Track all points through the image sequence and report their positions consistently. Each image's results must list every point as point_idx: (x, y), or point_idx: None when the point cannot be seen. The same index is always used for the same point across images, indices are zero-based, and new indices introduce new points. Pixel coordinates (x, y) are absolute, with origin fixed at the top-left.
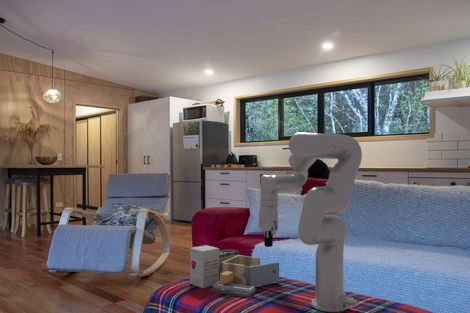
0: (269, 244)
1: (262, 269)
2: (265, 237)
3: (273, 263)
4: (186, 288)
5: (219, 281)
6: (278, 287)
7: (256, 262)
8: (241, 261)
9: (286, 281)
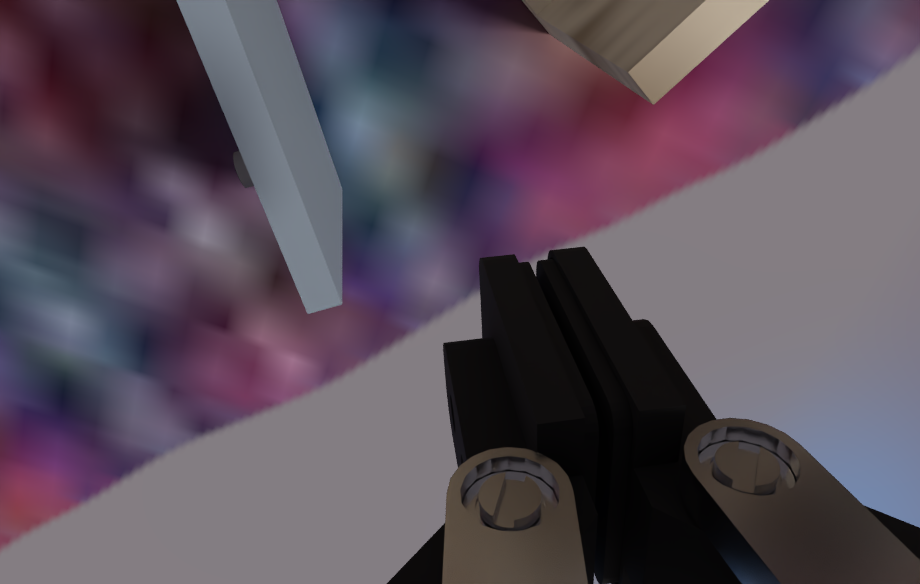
0: (447, 367)
1: None
2: (631, 420)
3: (262, 204)
4: None
5: None
6: (120, 105)
7: (641, 12)
8: None
9: None
